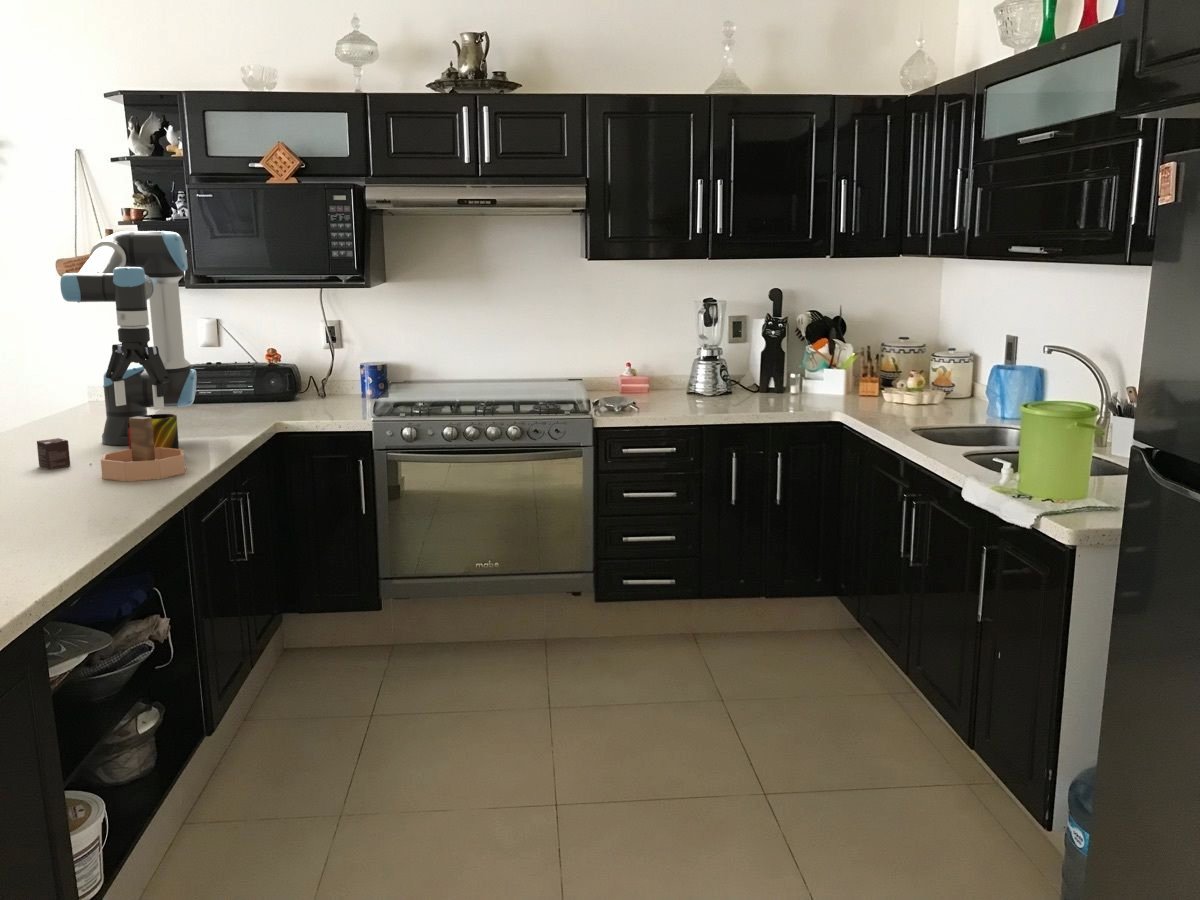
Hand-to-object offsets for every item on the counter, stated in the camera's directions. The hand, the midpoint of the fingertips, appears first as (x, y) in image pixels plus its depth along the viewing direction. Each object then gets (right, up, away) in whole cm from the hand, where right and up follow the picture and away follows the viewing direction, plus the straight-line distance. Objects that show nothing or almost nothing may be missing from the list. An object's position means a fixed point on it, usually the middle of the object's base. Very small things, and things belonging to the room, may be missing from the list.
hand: (139, 407), depth 270 cm
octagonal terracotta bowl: (0, -17, +3) cm, 18 cm away
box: (-28, -16, +11) cm, 34 cm away
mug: (-7, -14, +24) cm, 28 cm away
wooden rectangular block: (0, -17, +3) cm, 17 cm away
